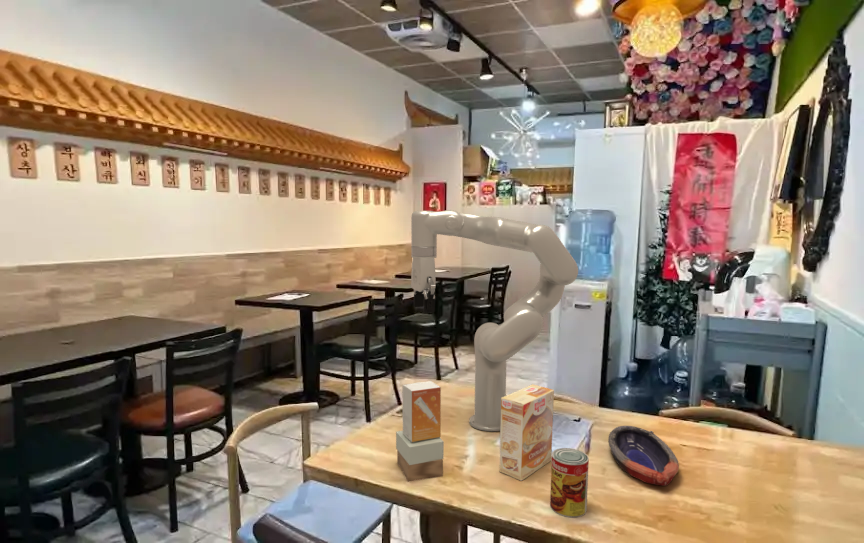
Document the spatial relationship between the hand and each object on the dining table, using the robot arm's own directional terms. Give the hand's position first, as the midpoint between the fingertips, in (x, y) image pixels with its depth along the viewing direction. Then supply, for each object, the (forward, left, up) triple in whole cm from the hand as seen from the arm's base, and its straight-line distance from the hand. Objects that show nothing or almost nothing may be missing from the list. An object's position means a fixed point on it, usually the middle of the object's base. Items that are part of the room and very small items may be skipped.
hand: (423, 309), depth 156 cm
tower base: (+9, +26, -37) cm, 46 cm away
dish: (-48, +39, -37) cm, 72 cm away
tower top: (+9, +26, -32) cm, 42 cm away
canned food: (-18, +52, -36) cm, 66 cm away
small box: (+8, +26, -28) cm, 39 cm away
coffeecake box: (-18, +32, -36) cm, 52 cm away
